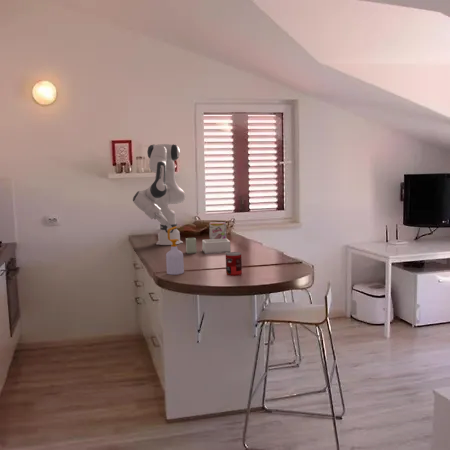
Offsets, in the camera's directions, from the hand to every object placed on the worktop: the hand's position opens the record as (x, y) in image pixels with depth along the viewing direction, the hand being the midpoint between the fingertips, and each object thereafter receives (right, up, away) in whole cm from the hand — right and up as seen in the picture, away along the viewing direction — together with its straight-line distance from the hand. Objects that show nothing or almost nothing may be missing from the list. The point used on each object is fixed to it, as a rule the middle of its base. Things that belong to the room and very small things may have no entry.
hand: (170, 227), depth 350 cm
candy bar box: (+30, -14, +24) cm, 40 cm away
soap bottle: (+8, -24, -58) cm, 63 cm away
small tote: (+13, -16, +4) cm, 21 cm away
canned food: (+39, -24, -66) cm, 80 cm away
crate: (+29, -16, +6) cm, 33 cm away
